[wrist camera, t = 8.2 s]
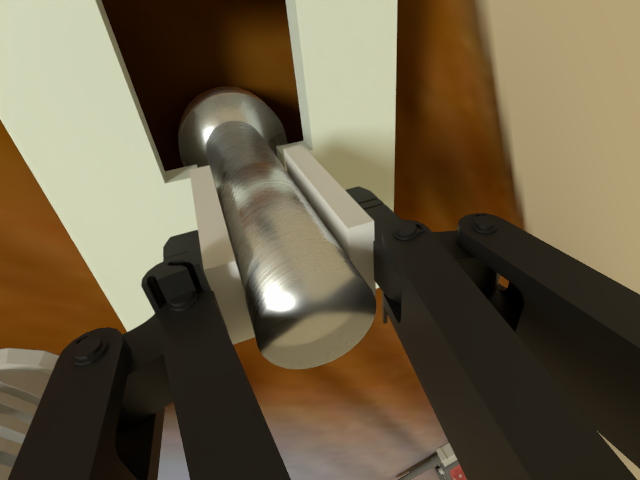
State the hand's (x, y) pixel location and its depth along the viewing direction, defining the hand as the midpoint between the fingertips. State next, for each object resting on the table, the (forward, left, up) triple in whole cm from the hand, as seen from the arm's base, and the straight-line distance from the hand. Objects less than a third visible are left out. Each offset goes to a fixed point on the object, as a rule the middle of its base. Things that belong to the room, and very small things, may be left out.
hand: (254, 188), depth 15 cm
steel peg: (0, 0, -7) cm, 7 cm away
